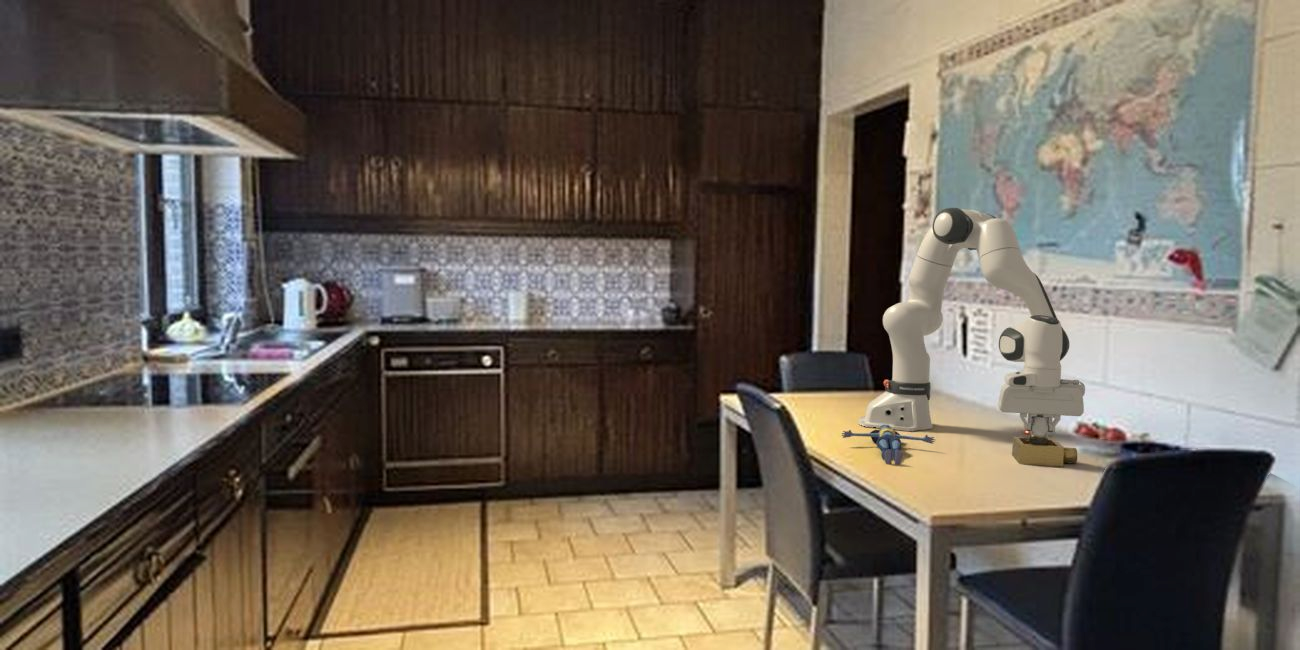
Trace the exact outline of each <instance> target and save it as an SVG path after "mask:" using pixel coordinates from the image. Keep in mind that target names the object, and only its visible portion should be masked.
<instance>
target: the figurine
mask: <svg viewBox="0 0 1300 650" xmlns="http://www.w3.org/2000/svg"><path fill="white" fill-rule="evenodd" d="M840 437H842V439H843V438H844V439H845V438H846V439H847V438H851V437H868V438H869V437H870V438H871V441H872V442H873V443H876V444H875V445H876V447H877V448H878V450H880V451H881V459H882V461H884V463H885V464H886V465H891V460H892V459H893V462H894V464H895V465H897V466H900V465H901V460H902V457H903V452H902V451H901V450H902V448H903V444H902V440H912V441H922V442H925V443H927V444H932V445H933V444H934V443H936V439H935V436H928V434H926V435H925V436H924V437H919V436H918V437H917V436H909V435H902V434H900V433H899V432H898V431H897V430H894V429H891V428H890V426H889V425H882V426H881V428H879V429H874V430H872V431H870V432H869V433H867V432H866V433H862V432H861V433H857V432H856V433H853V432H852V430H851V429H849V430H847V431H846V430H842V433H841V436H840ZM901 439H902V440H901Z"/></svg>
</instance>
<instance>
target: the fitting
mask: <svg viewBox="0 0 1300 650" xmlns="http://www.w3.org/2000/svg"><path fill="white" fill-rule="evenodd" d="M1022 431H1023V432H1022V434H1024V435H1026V436H1030V431H1025V430H1024V429H1023V430H1022ZM1029 443H1030V437H1023V436H1012V449H1011V456H1012V457H1013V458H1014V460H1015V461H1016V462H1017V463H1018V464H1019V465H1028V466H1030V465H1031V466H1042V467H1043V466H1045V467H1057V466H1060V468H1063V467H1064V464H1073V463H1074V465H1075V464H1077V462H1078V449H1077V447H1064V446H1063V445H1062V444H1061V443H1059V442H1058V441H1057V439H1055V438H1048V445H1049V446H1047V445H1032V444H1029Z"/></svg>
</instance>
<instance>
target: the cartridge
mask: <svg viewBox="0 0 1300 650" xmlns="http://www.w3.org/2000/svg"><path fill="white" fill-rule="evenodd" d="M1030 424H1031V431H1030V435H1029V438H1030V443H1029V444H1032V445H1047V446H1049V445H1048V439H1049V436H1048V434H1049V416H1044V415H1043V414H1037V415H1031V422H1030Z"/></svg>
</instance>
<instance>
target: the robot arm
mask: <svg viewBox="0 0 1300 650" xmlns="http://www.w3.org/2000/svg"><path fill="white" fill-rule="evenodd" d="M962 249H968V250H970V251H976V252H977V257H978V263H979V265H980V270H981V273H982V275H983V277H984V279H985V280H986V281H987V283H988V284H990V285H992V286H993V287H995V288H997V289H1001V290H1003V291H1005V292H1009V293H1011V294H1013V295H1015V296H1017V297H1018V298H1020V299H1021V300H1022V301H1024V303H1025V304H1026V307H1027V308H1028V310H1029V313H1030V316H1029V317H1028V318H1027V320H1025V321H1024V322H1023V323H1020V324H1016V325H1014V326H1009V327H1006V328H1005V329H1004V330H1002V332H1001V334H1000V335H999V339H998V349H999V350H998V351H999V352H1000V354H1001V356H1002V357H1003V358H1004V359H1005V360H1006V361H1009V362H1014V363H1024V364H1023V370H1020V371H1015V372H1012V373H1007V374H1005V375H1004V382H1005V383H1004V384H1003V385H1002V386H1001V388H1000V392H999V396H998V397H999V398H998V403H997V405H998V409H999V410H1000V411H1001V412H1002V413H1011V414H1013V413H1014V414H1019V417H1020V419H1021V421H1022V423H1023V430H1025V431H1031V424H1030V423H1028V420H1026V418H1027V419H1028V414H1045V415H1053V421H1052V424H1049V432H1052V433H1056V426H1057V425H1058V424H1059V422H1060V421H1061V416H1065V417H1066V416H1068V417H1081V416H1082V415H1083V414H1084V413H1085V408H1084V405H1085V404H1084V396H1085V393H1086V386H1085V384H1084V383H1083V382H1082V381H1080V380H1078V379H1065V378H1064V379H1063V378H1062V377H1061V376H1062V364H1061V361H1062V360H1063V359H1064V358H1065V357H1066V356H1067V354H1068V353H1069V349H1070V340H1069V336H1068V334H1067V332H1066V331H1065V330H1064V327H1062V324H1061V322H1060V320H1059V319H1058V317H1057V315H1056V313H1055V309H1054V308H1053V305H1052V302H1051V301H1050V299H1049V296H1048V294H1047V292H1046V289H1045V286H1044V285H1043V283H1042V281H1041V279H1040V278H1039V276H1038V274H1036V273H1034V272H1033V271H1032V270H1031V268H1030V267H1029V266H1028V264H1027V263H1026V260H1025V259H1024V256H1023V253H1022V250H1021V247H1020V245H1019V241H1018V239H1017V236H1016V234H1015V231H1014V229H1013V227H1012V225H1011V224H1010V223H1009V221H1007V220H1006V219H1005V218H999V217H998V218H997V217H996V216H994V215H992V214H990V213H984V212H981V211H978V210H975V209H963V208H958V207H946V208H944V209H941V210H940V211H939V212H938V213H937V214H936V215H935V217H934V219H933V222H932V226H930V228H929V229H928V230H927V232H926V234H925V236H924V238H922V241H921V244H920V245H919V248H918V250H917V253H916V256H915V257H914V258H915V259H914V261H913V265H912V267H911V270H910V273H909V275H908V283H909V293H908V294H909V296H908V299H907V301H904V302H903V301H902V302H901V301H900V302H898V303H895V304H894V305H892V306H890V307H888V308H887V309H886V310H885V311H884V314H883V315H882V326H883V328H884V330H885V331H886V332H887V334H888V336H889V337H888V338H889V341H890V345H891V352H892V378H891V380H889V379H884V381H883V386H884V389H885V391H884V392H883V393H881V394H880V395H878V396H877V397H875V398H874V399H872V400H871V401H870V402H869V403H868V404H867V407H866V408H865V414H864V415H865V416H861V417H859V418H858V420H857V421H858V422H857V423H858V425H859V424H860V426H861V425H862V426H861V427H864V426H865V427H866V428H873V427H876V428H875V429H880V428H881V426H882V425H889V426H890V428H891V429H892V430H894V429H895V430H894V431H906V432H915V431H920V430H921V431H924V430H930V429H932V428H933V423H932V418H931V411H930V398H931V388H932V387H931V382H930V368H931V356H930V354H929V353H928V351H927V348H926V343H925V337H926V336H930V335H932V334H933V333H935V332H936V331H938V330H939V329H940V328H941V327H942V323H943V320H944V317H943V313H942V308H943V307H942V306H943V300H944V299H943V297H944V292H945V288H946V286H947V283H948V280H949V277H950V274H951V271H952V268H953V265H954V263H955V259H956V256H957V254H958V253H959V252H960V251H961V250H962ZM1061 378H1062V379H1061Z"/></svg>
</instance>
